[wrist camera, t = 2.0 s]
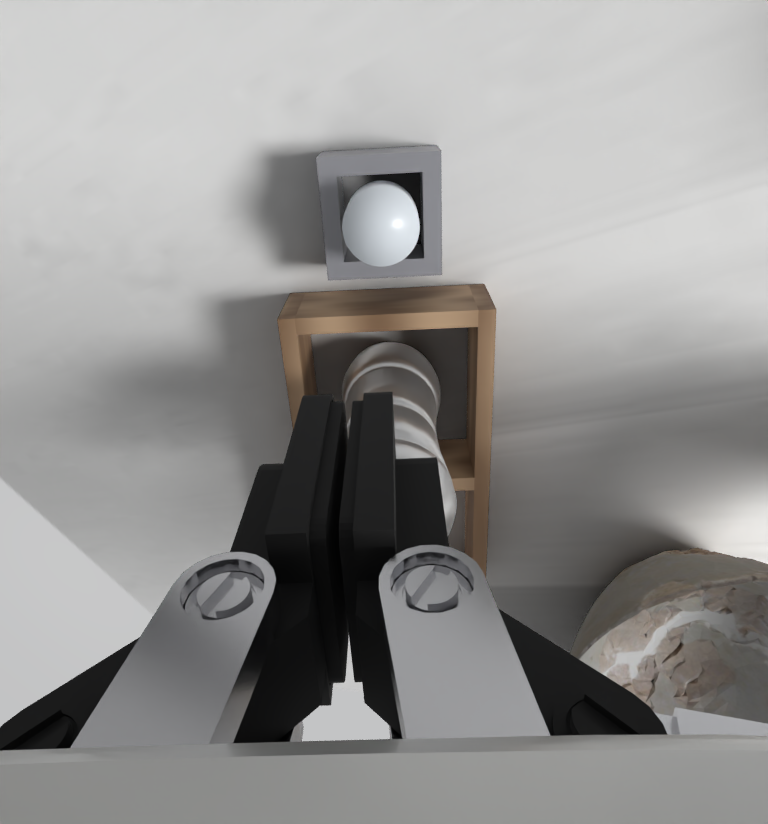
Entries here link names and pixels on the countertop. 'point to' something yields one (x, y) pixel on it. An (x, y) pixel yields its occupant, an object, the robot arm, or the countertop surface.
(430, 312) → the walnut bottle rack
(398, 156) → the button housing
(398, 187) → the white domed push button
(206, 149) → the countertop surface
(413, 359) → the plastic bottle
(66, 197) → the countertop surface
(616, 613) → the ceramic bowl
